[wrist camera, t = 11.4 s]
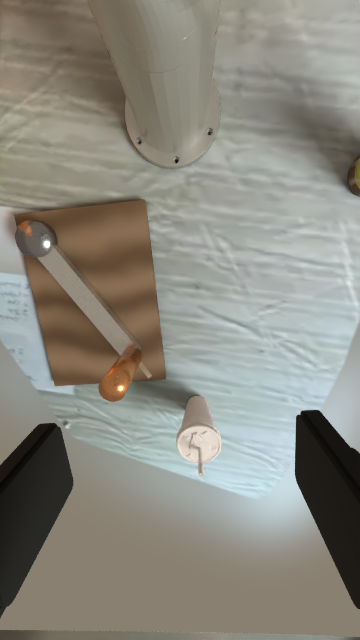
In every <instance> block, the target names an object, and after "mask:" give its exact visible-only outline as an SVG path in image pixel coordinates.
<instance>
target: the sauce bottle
mask: <svg viewBox="0 0 360 640" xmlns="http://www.w3.org/2000/svg"><path fill="white" fill-rule="evenodd" d="M348 180H349V185H350V188H351V191H352V192H353V193H354V194H355V195H358V196H360V156H358V157H357V159H356V160H355V161H354V163H353V165H352V167H351V169H350V171H349V175H348Z"/></svg>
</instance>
